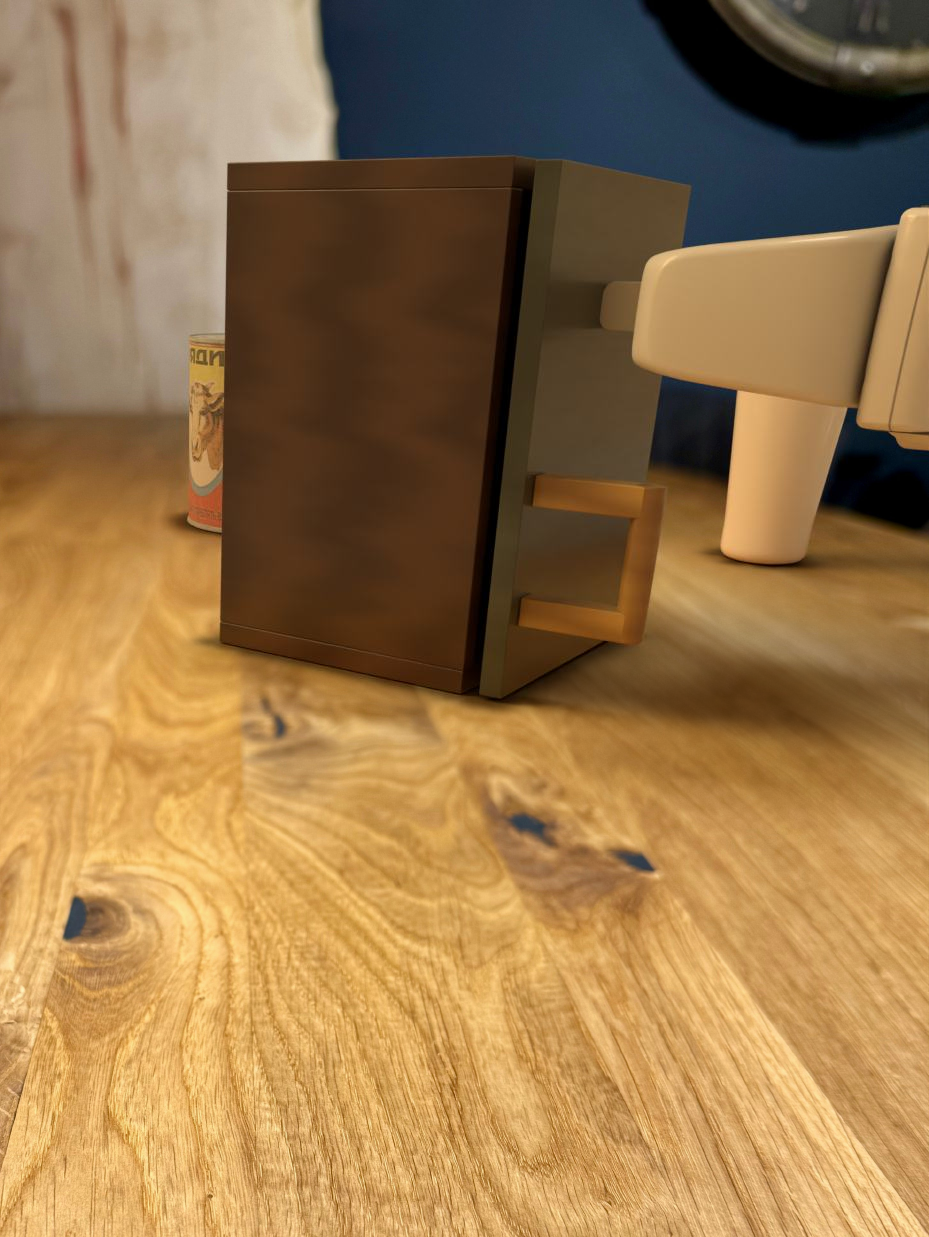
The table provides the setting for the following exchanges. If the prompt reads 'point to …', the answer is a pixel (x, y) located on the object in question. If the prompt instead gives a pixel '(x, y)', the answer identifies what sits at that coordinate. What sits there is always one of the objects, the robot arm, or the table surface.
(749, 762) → the table surface
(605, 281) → the cupboard door
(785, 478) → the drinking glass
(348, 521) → the cupboard
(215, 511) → the canned food
